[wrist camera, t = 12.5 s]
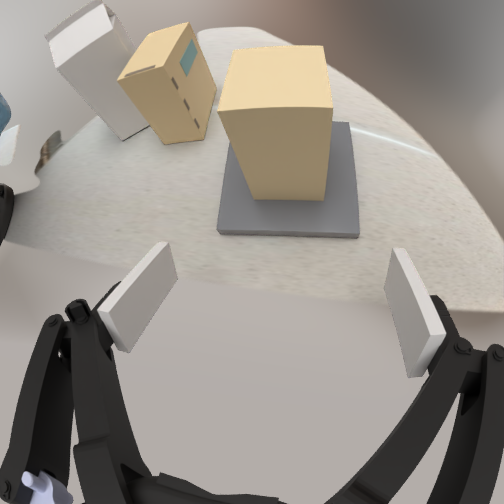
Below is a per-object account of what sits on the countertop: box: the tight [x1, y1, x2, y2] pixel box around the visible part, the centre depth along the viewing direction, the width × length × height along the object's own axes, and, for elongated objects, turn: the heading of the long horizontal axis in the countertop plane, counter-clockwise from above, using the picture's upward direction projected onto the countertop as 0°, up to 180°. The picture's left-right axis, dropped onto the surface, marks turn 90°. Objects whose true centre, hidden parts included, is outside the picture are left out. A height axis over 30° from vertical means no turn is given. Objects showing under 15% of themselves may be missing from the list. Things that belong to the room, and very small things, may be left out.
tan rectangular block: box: [217, 46, 333, 201], centre depth 18 cm, size 6×6×11 cm
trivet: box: [216, 121, 360, 238], centre depth 24 cm, size 12×12×1 cm
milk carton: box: [45, 0, 149, 141], centre depth 23 cm, size 7×7×19 cm
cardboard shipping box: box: [117, 22, 217, 145], centre depth 24 cm, size 5×9×11 cm, turn 175°
